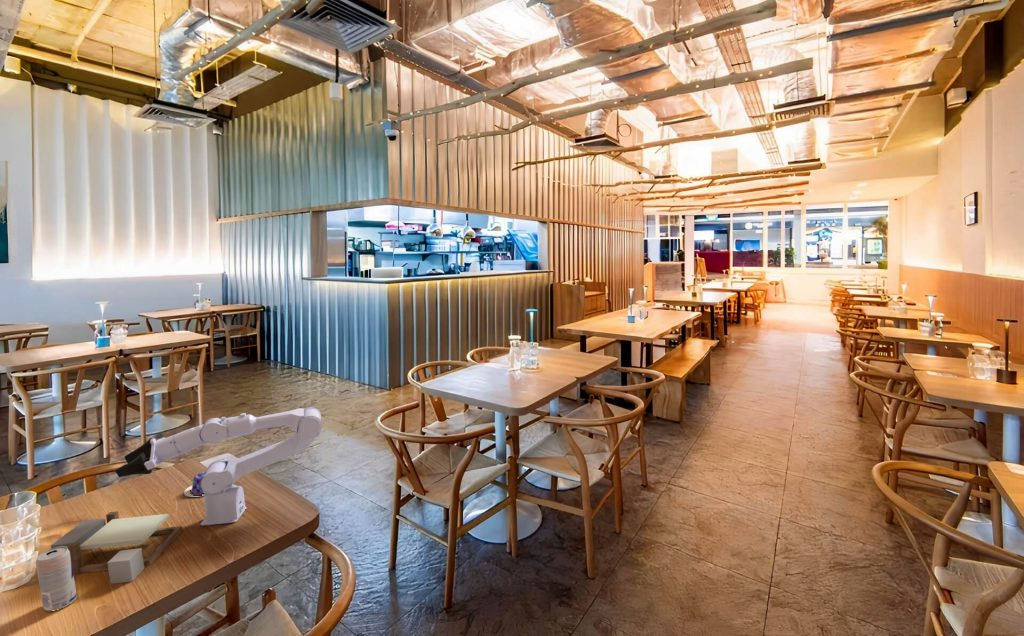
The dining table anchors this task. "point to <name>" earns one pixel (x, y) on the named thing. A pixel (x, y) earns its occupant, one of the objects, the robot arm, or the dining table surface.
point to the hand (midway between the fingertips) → (121, 466)
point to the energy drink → (56, 578)
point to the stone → (126, 565)
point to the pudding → (196, 485)
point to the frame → (79, 568)
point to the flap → (112, 532)
